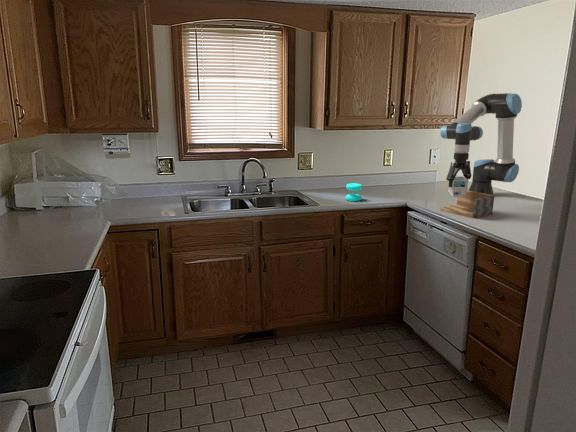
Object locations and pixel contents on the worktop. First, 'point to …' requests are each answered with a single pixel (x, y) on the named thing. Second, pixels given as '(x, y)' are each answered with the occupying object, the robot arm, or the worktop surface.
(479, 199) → the shelf
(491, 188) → the robot arm
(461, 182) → the light bulb box
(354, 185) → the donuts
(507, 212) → the worktop surface
